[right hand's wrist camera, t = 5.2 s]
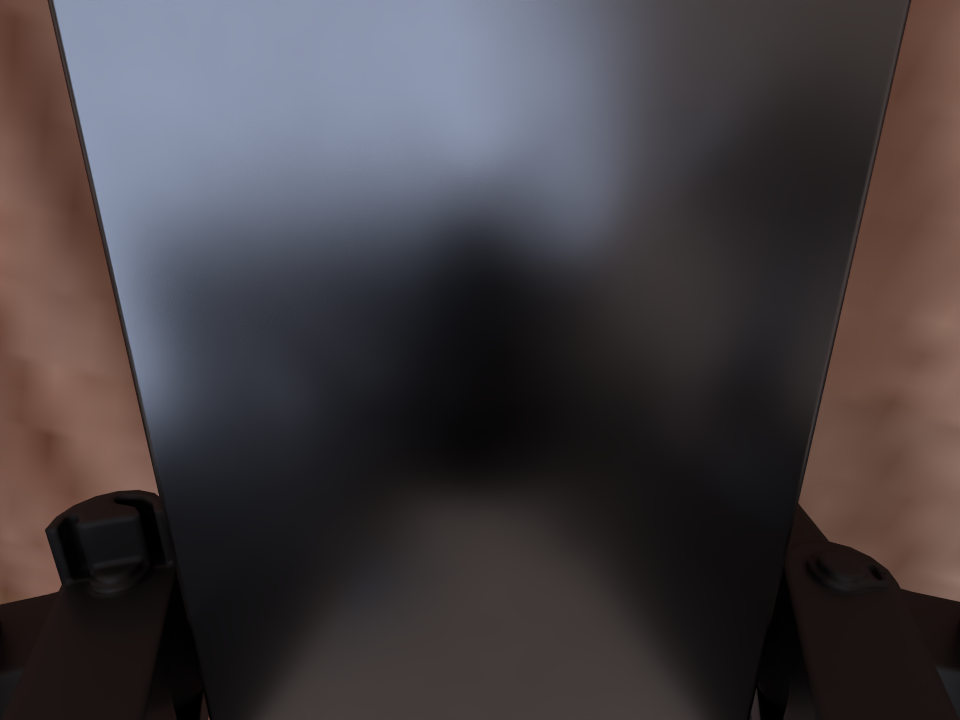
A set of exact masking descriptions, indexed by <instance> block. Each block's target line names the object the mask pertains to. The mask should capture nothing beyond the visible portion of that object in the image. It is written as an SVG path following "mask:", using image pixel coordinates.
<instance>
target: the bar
mask: <svg viewBox="0 0 960 720" xmlns="http://www.w3.org/2000/svg"><path fill="white" fill-rule="evenodd" d="M910 3H911V0H48V4H49V9H50V13H51V18H52V22H53V27H54V31H55V35H56V40H57V44H58V49H59V53H60V58H61V62H62V67H63V71H64V75H65V80H66V84H67V89H68V93H69V98H70V102H71V106H72V111H73V115H74V120H75V124H76V129H77V133H78V137H79V142H80V146H81V151H82V155H83V160H84V164H85V169H86V173H87V177H88V182H89V186H90V191H91V195H92V200H93V204H94V208H95V213H96V217H97V222H98V226H99V231H100V235H101V239H102V244H103V248H104V253H105V257H106V262H107V266H108V271H109V275H110V279H111V284H112V288H113V293H114V297H115V302H116V306H117V310H118V315H119V319H120V324H121V328H122V333H123V337H124V342H125V346H126V350H127V355H128V359H129V364H130V368H131V373H132V377H133V381H134V386H135V390H136V395H137V399H138V404H139V408H140V412H141V417H142V421H143V426H144V430H145V435H146V439H147V444H148V448H149V452H150V457H151V461H152V466H153V470H154V475H155V479H156V483H157V488H158V492H159V497H160V501H161V506H162V510H163V515H164V519H165V523H166V528H167V532H168V537H169V541H170V546H171V550H172V554H173V559H174V563H175V568H176V572H177V577H178V581H179V585H180V590H181V594H182V599H183V603H184V608H185V612H186V617H187V621H188V625H189V630H190V634H191V639H192V643H193V648H194V652H195V656H196V661H197V665H198V670H199V674H200V679H201V683H202V687H203V692H204V696H205V701H206V705H207V710H208V714H209V719H210V720H749V719H750V714H751V710H752V705H753V701H754V697H755V692H756V688H757V683H758V679H759V674H760V670H761V665H762V661H763V657H764V652H765V648H766V643H767V639H768V634H769V630H770V625H771V621H772V617H773V612H774V608H775V603H776V599H777V594H778V590H779V585H780V581H781V577H782V572H783V568H784V563H785V559H786V554H787V550H788V545H789V541H790V537H791V532H792V528H793V523H794V519H795V514H796V510H797V505H798V501H799V497H800V492H801V488H802V483H803V479H804V474H805V470H806V465H807V461H808V457H809V452H810V448H811V443H812V439H813V434H814V430H815V425H816V421H817V417H818V412H819V408H820V403H821V399H822V394H823V390H824V385H825V381H826V377H827V372H828V368H829V363H830V359H831V354H832V350H833V345H834V341H835V337H836V332H837V328H838V323H839V319H840V314H841V310H842V305H843V301H844V297H845V292H846V288H847V283H848V279H849V274H850V270H851V265H852V261H853V257H854V252H855V248H856V243H857V239H858V234H859V230H860V225H861V221H862V216H863V212H864V208H865V203H866V199H867V194H868V190H869V185H870V181H871V176H872V172H873V168H874V163H875V159H876V154H877V150H878V145H879V141H880V136H881V132H882V128H883V123H884V119H885V114H886V110H887V105H888V101H889V96H890V92H891V88H892V83H893V79H894V74H895V70H896V65H897V61H898V56H899V52H900V48H901V43H902V39H903V34H904V30H905V25H906V21H907V16H908V12H909V8H910Z"/></svg>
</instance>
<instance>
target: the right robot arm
mask: <svg viewBox="0 0 960 720" xmlns="http://www.w3.org/2000/svg"><path fill="white" fill-rule="evenodd" d="M45 532H46V535H47V538H48V541H49V545H50V548H51V551H52V554H53V557H54V560H55V564H56V567H57V570H58V573H59V576H60V580H61V583H62V586H61V588H60V590H59V592H55V593H52V594H48V595H43V596H39V597H34V598H29V599H25V600H20V601H15V602H11V603H6V604H1V605H0V720H208V717H209V714H208V710H207V705H206V701H205V696H204V692H203V687H202V683H201V679H200V674H199V670H198V665H197V661H196V656H195V652H194V648H193V643H192V639H191V634H190V630H189V625H188V621H187V617H186V612H185V608H184V603H183V599H182V594H181V590H180V585H179V581H178V577H177V572H176V568H175V563H174V559H173V554H172V550H171V546H170V541H169V537H168V532H167V528H166V523H165V519H164V515H163V510H162V506H161V501H160V497H159V496H158V495H156V494H155V493H151V492H146V491H141V490H129V491H117V492H112V493H108V494H104V495H100V496H96V497H93V498H91V499H88V500H86V501H83V502H81V503H79V504H76V505H74V506H72V507H71V508H69V509H68V510H66V511H65V512H63V513H62V514H60V515H59V516H57V517H56V518H55V519H54V520H53V521H52V522H51V524H50V525H49V526H48V527H47V528H46V529H45ZM749 720H960V602H958V601H953V600H948V599H944V598H939V597H934V596H929V595H925V594H920V593H915V592H911V591H907V590H904V589H900V587H899V584H898V583H897V581H896V580H895V579H894V577H893V576H892V575H891V573H890V572H889V571H888V570H887V569H886V568H885V567H884V566H882V565H881V564H880V563H878V562H877V561H876V560H874V559H873V558H872V557H870V556H868V555H866V554H863V553H861V552H859V551H857V550H855V549H853V548H851V547H848V546H844V545H840V544H836V543H833V542H829V541H828V540H827V538H826V537H825V536H824V535H823V533H822V532H821V531H820V530H819V528H818V527H817V526H816V525H815V523H814V522H813V521H812V520H811V519H810V517H809V516H808V515H807V514H806V512H805V511H804V510H803V509H802V507H801V506H800V505H799V504H798V505H797V510H796V514H795V519H794V523H793V528H792V532H791V537H790V541H789V545H788V550H787V554H786V559H785V563H784V568H783V572H782V577H781V581H780V585H779V590H778V594H777V599H776V603H775V608H774V612H773V617H772V621H771V625H770V630H769V634H768V639H767V643H766V648H765V652H764V657H763V661H762V665H761V670H760V674H759V679H758V683H757V688H756V692H755V697H754V701H753V705H752V710H751V714H750V719H749Z"/></svg>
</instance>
